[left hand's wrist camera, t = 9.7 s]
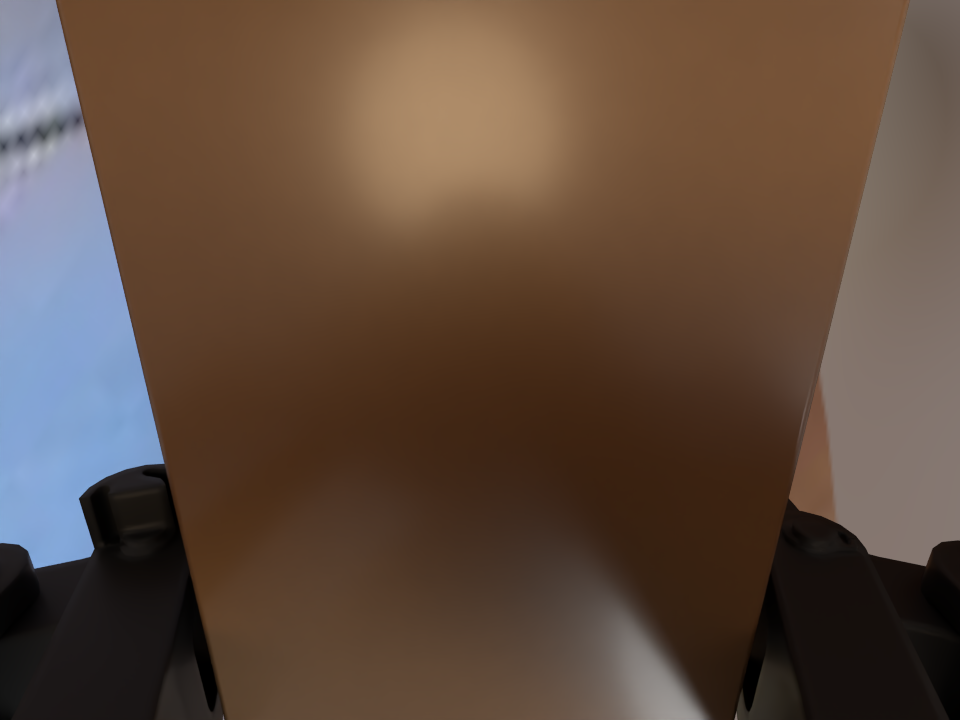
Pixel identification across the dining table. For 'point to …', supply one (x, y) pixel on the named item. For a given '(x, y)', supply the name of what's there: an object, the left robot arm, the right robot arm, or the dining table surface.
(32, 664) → the left robot arm
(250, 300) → the bar
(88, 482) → the dining table surface
